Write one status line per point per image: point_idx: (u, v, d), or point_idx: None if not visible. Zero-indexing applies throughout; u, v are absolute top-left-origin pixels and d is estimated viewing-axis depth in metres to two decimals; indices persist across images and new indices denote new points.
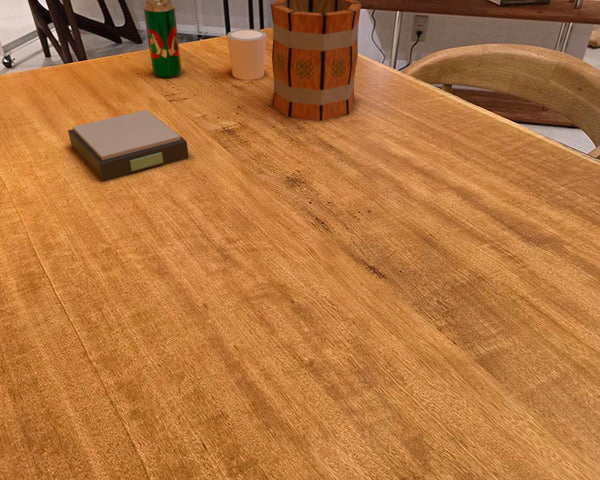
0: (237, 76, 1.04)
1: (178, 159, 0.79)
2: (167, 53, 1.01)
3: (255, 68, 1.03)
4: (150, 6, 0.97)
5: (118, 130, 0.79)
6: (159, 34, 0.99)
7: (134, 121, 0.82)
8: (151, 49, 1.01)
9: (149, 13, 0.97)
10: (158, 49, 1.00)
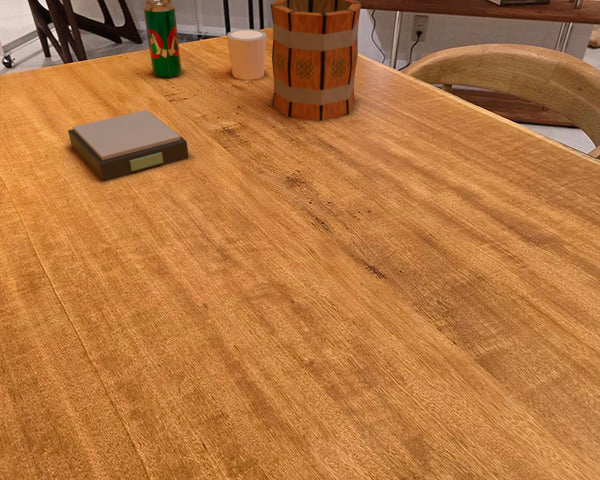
0: (237, 76, 1.04)
1: (178, 159, 0.79)
2: (167, 53, 1.01)
3: (255, 68, 1.03)
4: (150, 6, 0.97)
5: (118, 130, 0.79)
6: (159, 34, 0.99)
7: (134, 121, 0.82)
8: (151, 49, 1.01)
9: (149, 13, 0.97)
10: (158, 49, 1.00)
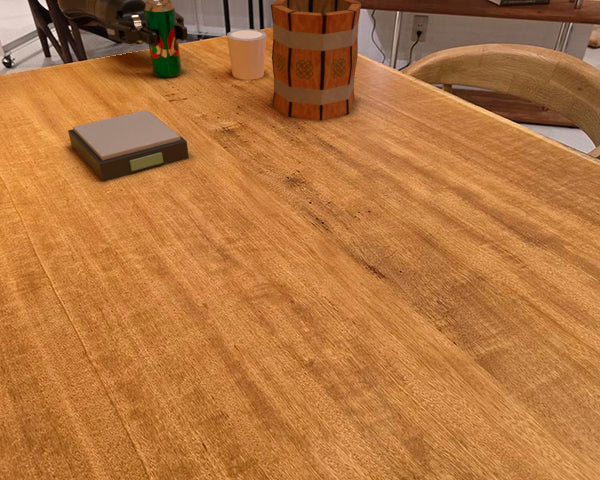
0: (237, 76, 1.04)
1: (178, 159, 0.79)
2: (167, 53, 1.01)
3: (255, 68, 1.03)
4: (150, 6, 0.97)
5: (118, 130, 0.79)
6: (159, 34, 0.99)
7: (134, 121, 0.82)
8: (151, 49, 1.01)
9: (149, 13, 0.97)
10: (158, 49, 1.00)
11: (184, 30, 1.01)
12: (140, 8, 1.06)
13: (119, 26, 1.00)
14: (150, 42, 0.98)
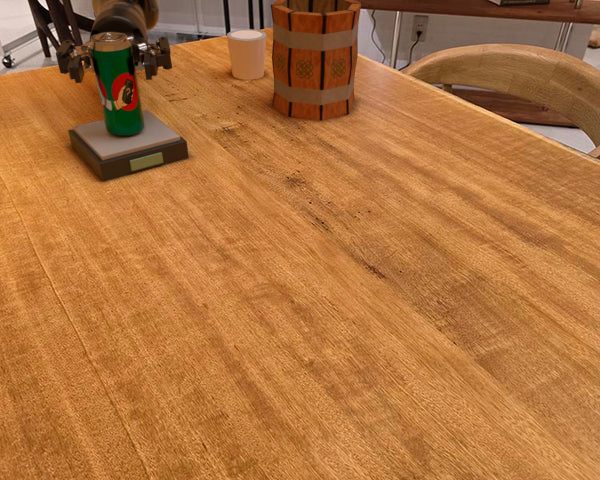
0: (237, 76, 1.04)
1: (178, 159, 0.79)
2: (112, 105, 0.75)
3: (255, 68, 1.03)
4: (92, 41, 0.71)
5: None
6: (101, 80, 0.73)
7: None
8: (99, 96, 0.76)
9: (90, 50, 0.71)
10: (102, 98, 0.75)
11: (147, 67, 0.73)
12: (126, 30, 0.80)
13: (60, 48, 0.76)
14: (72, 77, 0.72)
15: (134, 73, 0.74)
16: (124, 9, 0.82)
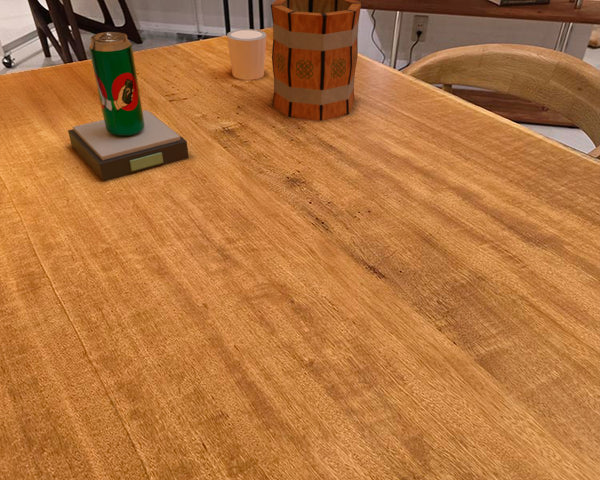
0: (237, 76, 1.04)
1: (178, 159, 0.79)
2: (112, 105, 0.74)
3: (255, 68, 1.03)
4: (92, 41, 0.71)
5: None
6: (101, 80, 0.73)
7: None
8: None
9: (90, 50, 0.71)
10: (102, 99, 0.75)
11: None
12: None
13: None
14: None
15: (134, 73, 0.74)
16: None
